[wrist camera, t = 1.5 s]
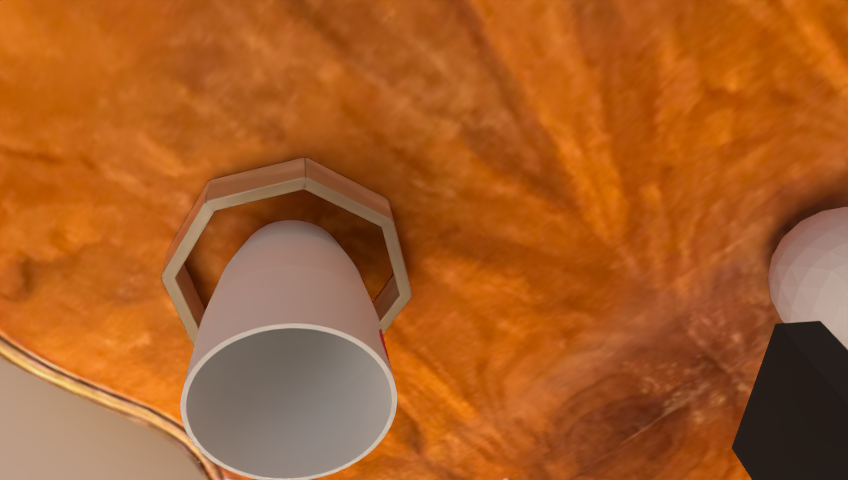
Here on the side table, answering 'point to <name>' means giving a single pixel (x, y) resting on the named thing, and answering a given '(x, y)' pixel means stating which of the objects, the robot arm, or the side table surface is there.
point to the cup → (289, 361)
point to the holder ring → (269, 185)
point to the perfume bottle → (813, 272)
